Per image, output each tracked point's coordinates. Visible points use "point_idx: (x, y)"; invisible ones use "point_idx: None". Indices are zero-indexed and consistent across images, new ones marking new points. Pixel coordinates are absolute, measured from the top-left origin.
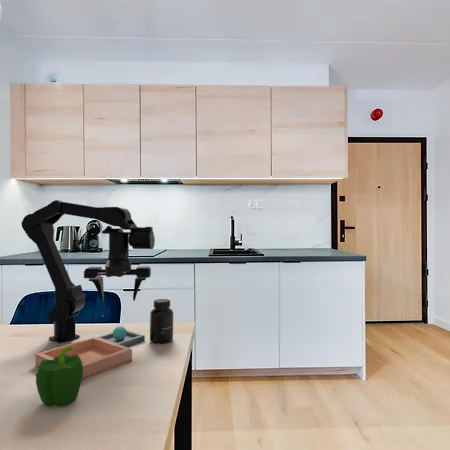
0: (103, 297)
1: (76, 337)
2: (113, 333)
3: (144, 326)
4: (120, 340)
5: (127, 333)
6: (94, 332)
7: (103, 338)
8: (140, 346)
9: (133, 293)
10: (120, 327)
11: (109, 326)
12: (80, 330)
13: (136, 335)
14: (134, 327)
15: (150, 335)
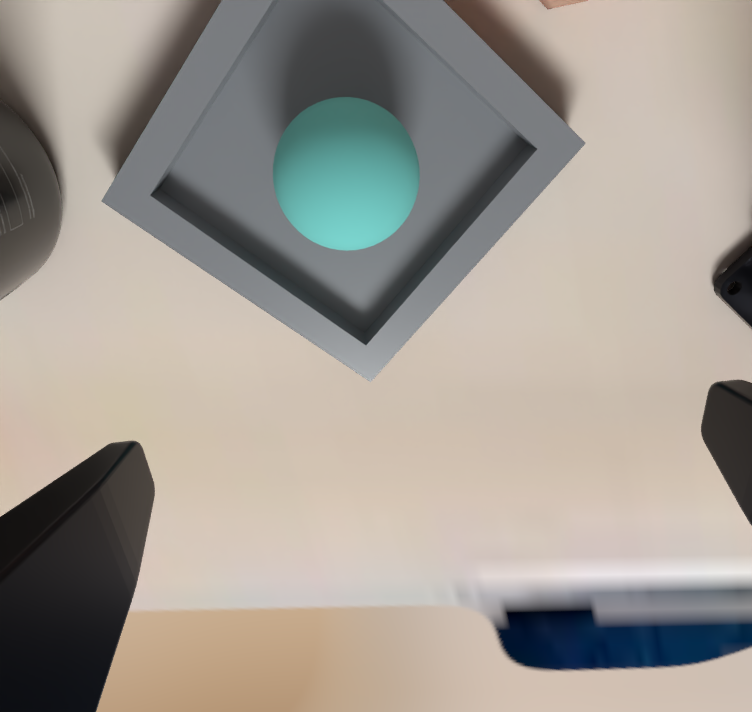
0: (735, 472)
1: (743, 260)
2: (402, 127)
3: (252, 536)
4: None
5: (309, 300)
6: (610, 410)
7: (503, 179)
8: (98, 16)
9: (60, 528)
10: (332, 161)
11: (520, 534)
12: None
13: (197, 225)
14: (324, 515)
15: (2, 135)
